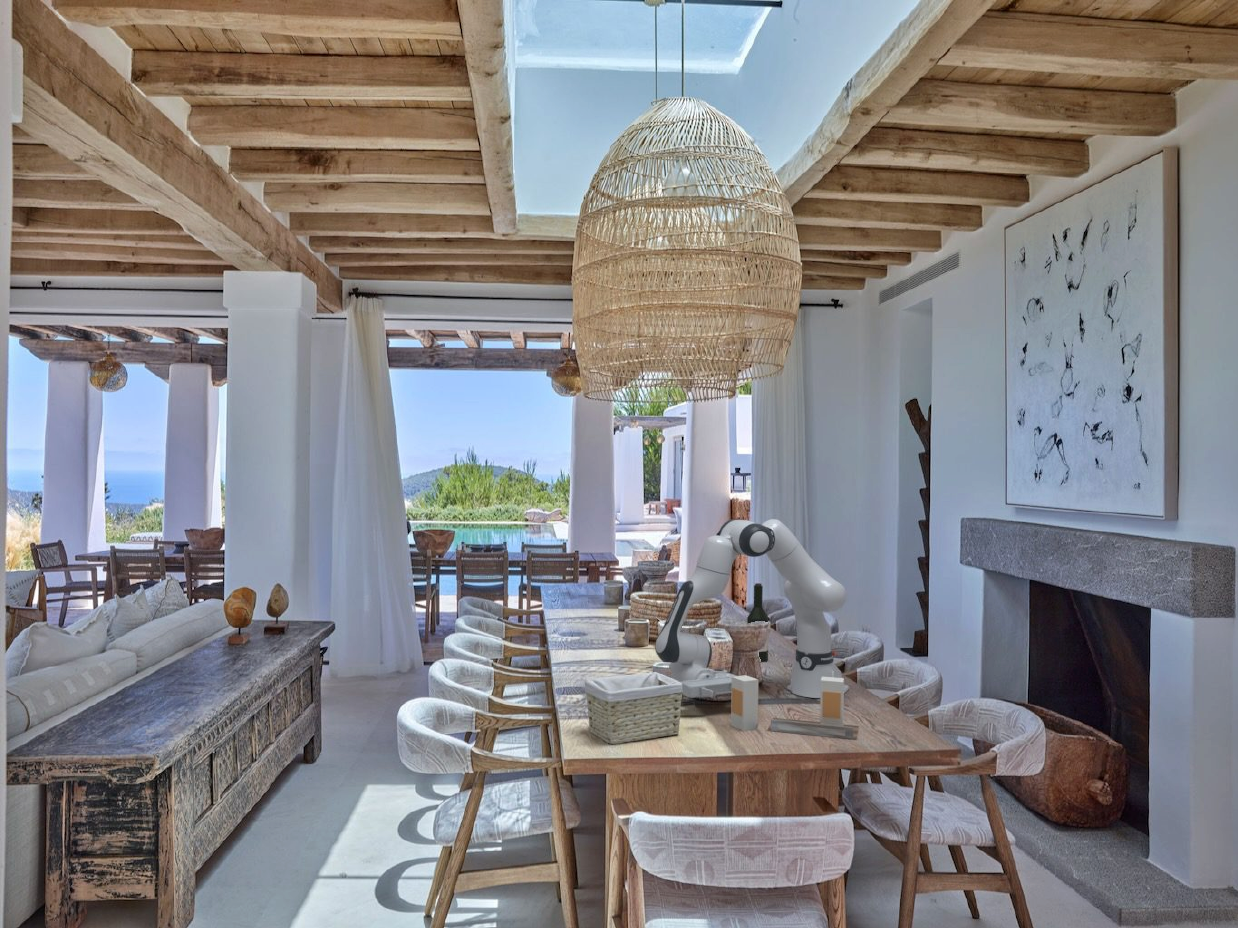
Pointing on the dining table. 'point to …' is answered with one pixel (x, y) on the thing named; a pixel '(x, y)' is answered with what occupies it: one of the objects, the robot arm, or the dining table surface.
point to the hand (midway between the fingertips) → (727, 692)
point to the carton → (832, 701)
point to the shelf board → (813, 728)
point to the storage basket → (633, 707)
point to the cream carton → (744, 703)
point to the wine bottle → (759, 617)
